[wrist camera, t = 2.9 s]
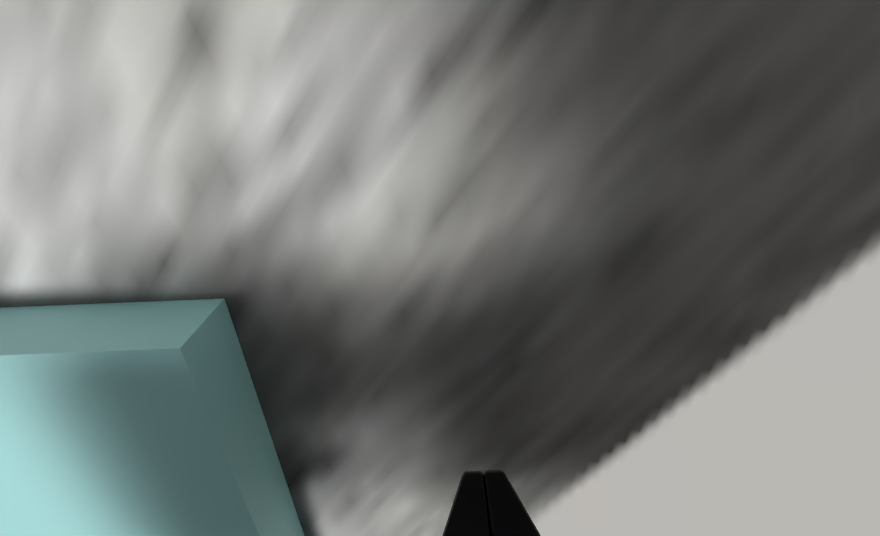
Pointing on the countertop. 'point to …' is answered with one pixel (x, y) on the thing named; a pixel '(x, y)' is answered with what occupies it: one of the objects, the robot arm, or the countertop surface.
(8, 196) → the countertop surface
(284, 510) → the panel
